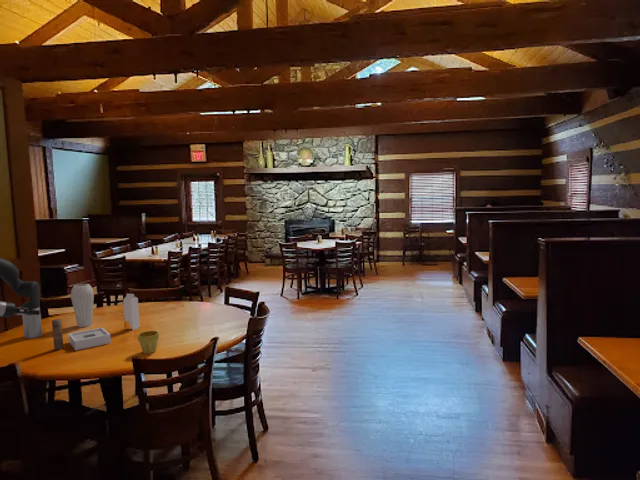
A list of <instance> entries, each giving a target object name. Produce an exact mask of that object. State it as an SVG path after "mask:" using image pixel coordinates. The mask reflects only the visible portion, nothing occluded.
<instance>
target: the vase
mask: <svg viewBox="0 0 640 480" xmlns="http://www.w3.org/2000/svg"><path fill="white" fill-rule="evenodd" d="M94 298H95V292H94V289H93V287H92V286H91V285H90V283H81V284H74V285H73V287H72V288H71V291H70V300H71V303H72V309H73V311H74V315H75V320H76V324H77V327H78V328H87V327H90V326H92V325H93V316H94V315H93V312H94Z"/></svg>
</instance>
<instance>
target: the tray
mask: <svg viewBox="0 0 640 480" xmlns="http://www.w3.org/2000/svg"><path fill="white" fill-rule="evenodd" d="M67 335H68V342H69V344H70V345H71V347H72V348H73V349H74V350H75V351H79V350H83V349H84V350H85V349H89V348H93V347H94V348H95V347H97V346H98V347H99V346H102V345H108V344H111V343H112V340H111V337H112V336H111V333H110V332H108V330H106V329H105V328H103V327H98V328H93V329H92V328H91V329H87V330H81V331H76V332H71V333H68V334H67Z"/></svg>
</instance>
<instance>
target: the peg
mask: <svg viewBox="0 0 640 480" xmlns="http://www.w3.org/2000/svg"><path fill="white" fill-rule="evenodd" d="M51 327H52V328H51V329H52V338H53V348H54V351H60V350H63V349H64V347H65V346H64V338H63V327H62V319H61V318H58V319H57V318H56V319H52V320H51Z"/></svg>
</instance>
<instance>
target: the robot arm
mask: <svg viewBox="0 0 640 480" xmlns="http://www.w3.org/2000/svg"><path fill="white" fill-rule="evenodd" d="M19 277H20V271H19V269H18V267H17V266H16V265H15V264H14V263H13V262H11V261H10V260H7V259H5V258H2V257H0V279H2V280H3V281H4V282H5V283H6V284H7V285H8V286H10V288H11V290H13V291H14V292H15V293H16V295H17V296H19V297H21V298H29V299H28V301H27V302H24V303H22V304H21V305H20V306H16V304H15V303H14V302H9V301H4V300H3V301H2V300H0V317H3V318H11V317H13V316H22V325H23V326H22V327H23V337H24V339H35V338H39V337H42V336H43V328H42V327H43V326H42V316H41V307H40V305H41V288H40V284H39V282H38V281H36V280H35V281H34V280H30V281H24V280H22V279H20V278H19Z"/></svg>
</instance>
